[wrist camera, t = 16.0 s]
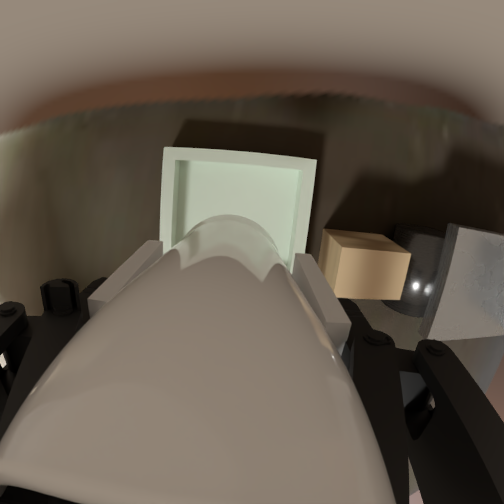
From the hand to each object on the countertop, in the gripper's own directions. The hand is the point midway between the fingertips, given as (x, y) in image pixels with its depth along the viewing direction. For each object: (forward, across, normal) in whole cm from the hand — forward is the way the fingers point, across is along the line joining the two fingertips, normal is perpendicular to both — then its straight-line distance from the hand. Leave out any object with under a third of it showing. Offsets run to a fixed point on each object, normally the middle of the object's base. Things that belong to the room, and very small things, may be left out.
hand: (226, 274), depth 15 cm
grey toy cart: (+13, +23, -2) cm, 26 cm away
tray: (+13, 0, 0) cm, 13 cm away
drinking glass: (+2, 0, 0) cm, 2 cm away
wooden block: (+13, +11, -2) cm, 17 cm away
